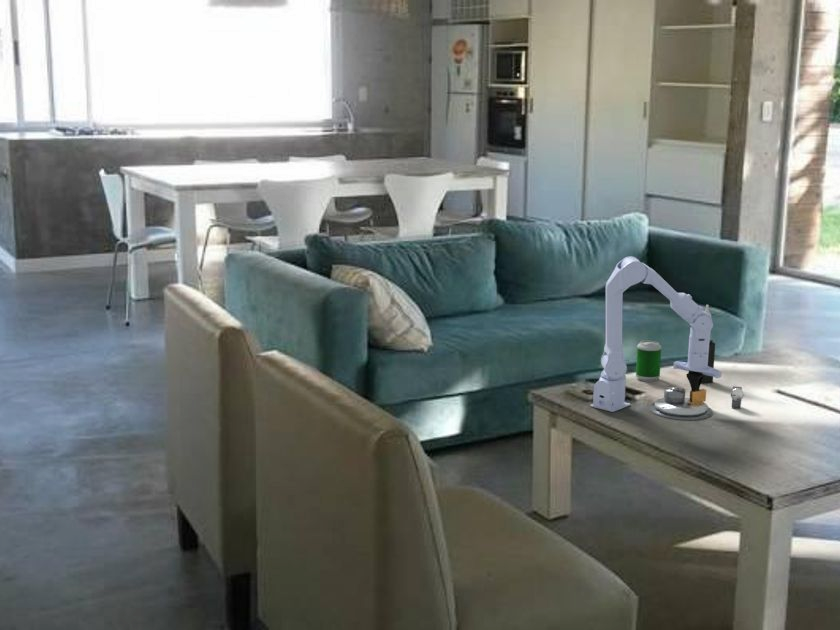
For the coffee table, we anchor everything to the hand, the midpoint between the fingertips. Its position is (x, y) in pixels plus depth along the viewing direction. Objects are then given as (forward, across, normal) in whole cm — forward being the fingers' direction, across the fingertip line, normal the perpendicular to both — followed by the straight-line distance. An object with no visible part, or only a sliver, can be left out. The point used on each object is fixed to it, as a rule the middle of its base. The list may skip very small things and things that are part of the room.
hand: (695, 396), depth 309 cm
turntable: (+3, +1, +6) cm, 7 cm away
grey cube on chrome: (+3, -9, -8) cm, 12 cm away
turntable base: (+3, +1, +6) cm, 7 cm away
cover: (+1, +4, +5) cm, 6 cm away
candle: (+3, +12, -26) cm, 28 cm away
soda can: (+3, +26, -16) cm, 30 cm away
